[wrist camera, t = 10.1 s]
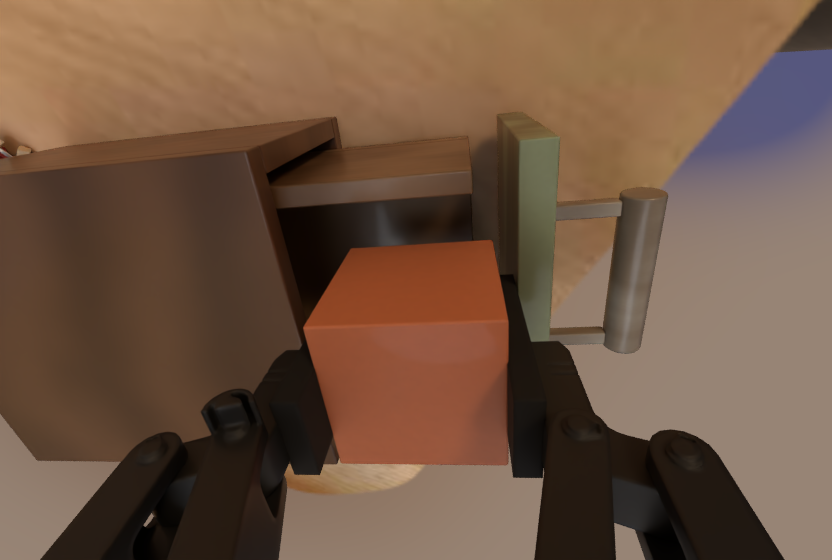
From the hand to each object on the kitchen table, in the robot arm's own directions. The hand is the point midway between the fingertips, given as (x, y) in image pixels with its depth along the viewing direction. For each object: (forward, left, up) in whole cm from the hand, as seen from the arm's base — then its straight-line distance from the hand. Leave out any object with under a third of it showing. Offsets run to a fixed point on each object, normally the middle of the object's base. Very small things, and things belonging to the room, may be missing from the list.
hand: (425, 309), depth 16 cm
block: (0, 0, 0) cm, 0 cm away
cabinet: (+12, 0, -8) cm, 15 cm away
